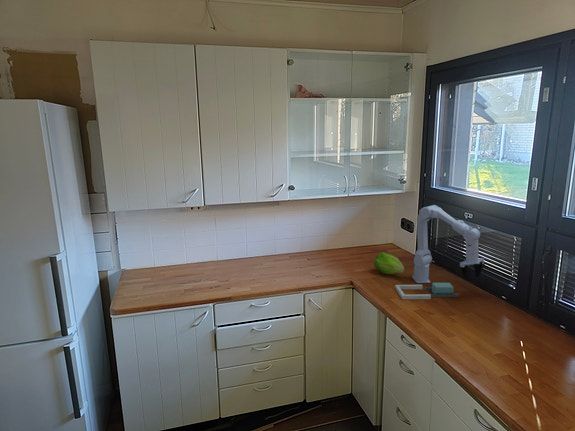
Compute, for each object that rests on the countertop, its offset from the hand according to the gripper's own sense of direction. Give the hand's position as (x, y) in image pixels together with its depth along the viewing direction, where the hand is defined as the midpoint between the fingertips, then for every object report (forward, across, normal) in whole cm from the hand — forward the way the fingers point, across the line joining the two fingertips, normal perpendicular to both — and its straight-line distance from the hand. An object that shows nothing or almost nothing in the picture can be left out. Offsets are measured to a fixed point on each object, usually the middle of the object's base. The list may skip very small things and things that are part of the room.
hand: (472, 278), depth 196 cm
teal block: (+9, -11, +10) cm, 17 cm away
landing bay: (+8, -25, +15) cm, 30 cm away
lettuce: (+6, -19, +43) cm, 48 cm away
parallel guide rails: (+9, -11, +10) cm, 17 cm away
